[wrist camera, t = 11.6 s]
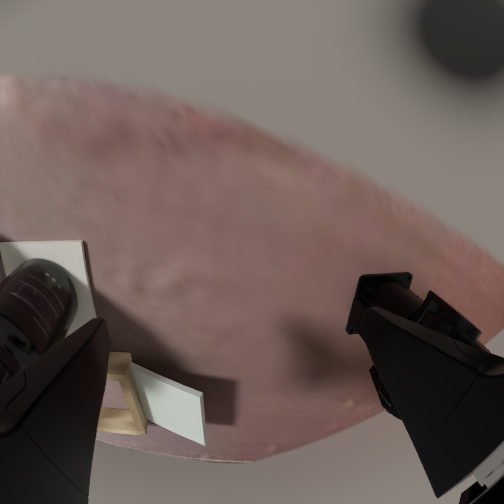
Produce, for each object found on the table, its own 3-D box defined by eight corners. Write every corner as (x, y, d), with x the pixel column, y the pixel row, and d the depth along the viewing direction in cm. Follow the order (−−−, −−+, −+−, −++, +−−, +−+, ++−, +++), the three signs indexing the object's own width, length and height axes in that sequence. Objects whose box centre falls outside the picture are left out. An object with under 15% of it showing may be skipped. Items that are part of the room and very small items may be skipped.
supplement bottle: (60, 336, 22) (16, 437, 11) (8, 289, 19) (-59, 373, 8) (95, 293, 21) (42, 407, 10) (36, 238, 18) (-55, 320, 7)
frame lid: (200, 361, 25) (203, 397, 21) (204, 412, 28) (207, 445, 24) (125, 360, 24) (117, 395, 20) (141, 412, 27) (138, 444, 23)
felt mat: (82, 240, 20) (80, 242, 19) (101, 334, 23) (100, 337, 22) (1, 242, 18) (-2, 243, 17) (25, 328, 21) (23, 330, 21)
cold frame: (130, 352, 24) (125, 375, 21) (147, 414, 28) (146, 435, 25) (27, 343, 22) (17, 361, 19) (58, 404, 25) (52, 422, 23)
